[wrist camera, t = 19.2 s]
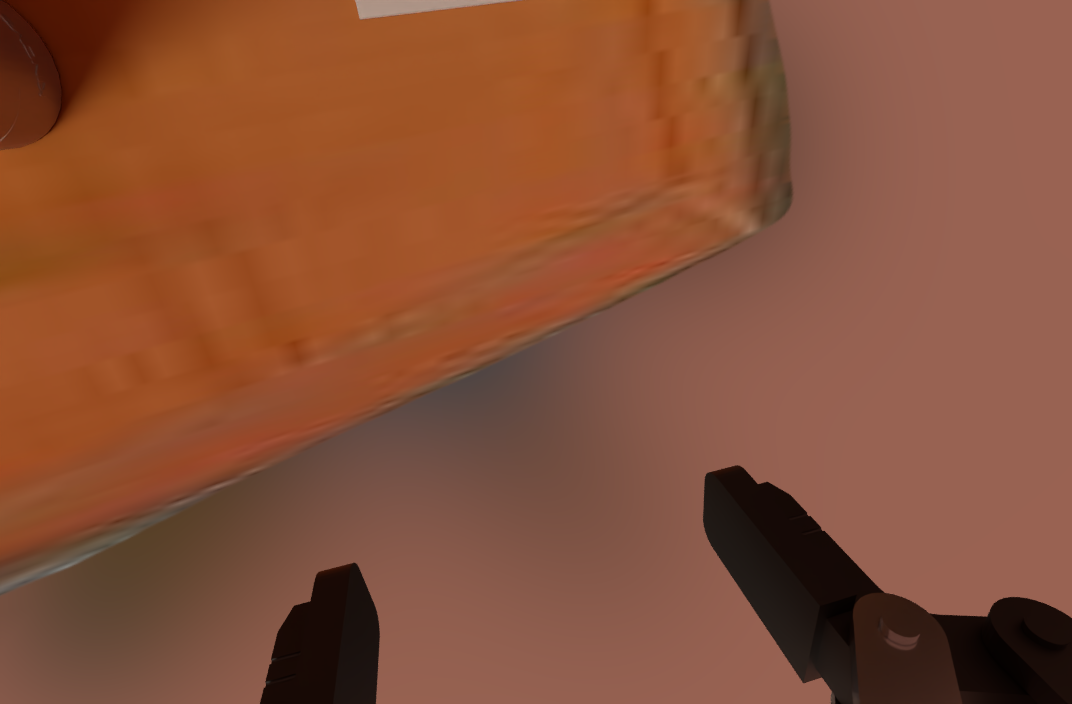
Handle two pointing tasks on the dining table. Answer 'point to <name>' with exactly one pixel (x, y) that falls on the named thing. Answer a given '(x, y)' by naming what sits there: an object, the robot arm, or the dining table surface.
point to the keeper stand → (413, 6)
